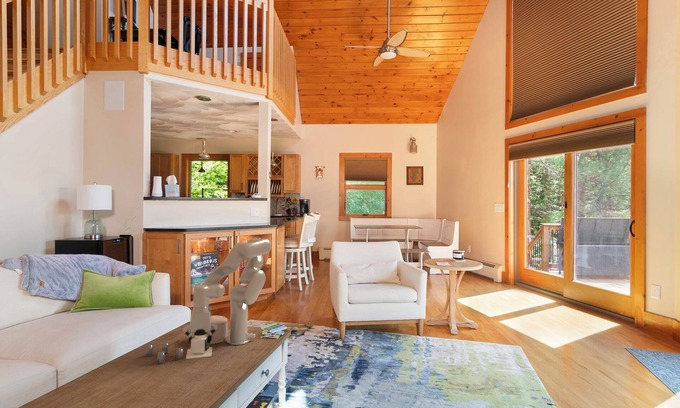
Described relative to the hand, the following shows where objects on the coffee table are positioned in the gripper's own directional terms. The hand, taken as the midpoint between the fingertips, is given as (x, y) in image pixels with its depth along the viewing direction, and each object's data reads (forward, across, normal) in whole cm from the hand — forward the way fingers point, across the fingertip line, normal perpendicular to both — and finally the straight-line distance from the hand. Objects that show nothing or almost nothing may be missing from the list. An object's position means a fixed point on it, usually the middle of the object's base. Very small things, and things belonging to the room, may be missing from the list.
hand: (200, 343), depth 187 cm
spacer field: (+5, +17, +1) cm, 18 cm away
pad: (+5, 0, 0) cm, 5 cm away
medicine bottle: (+4, 0, 0) cm, 4 cm away
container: (+5, -5, -20) cm, 21 cm away
